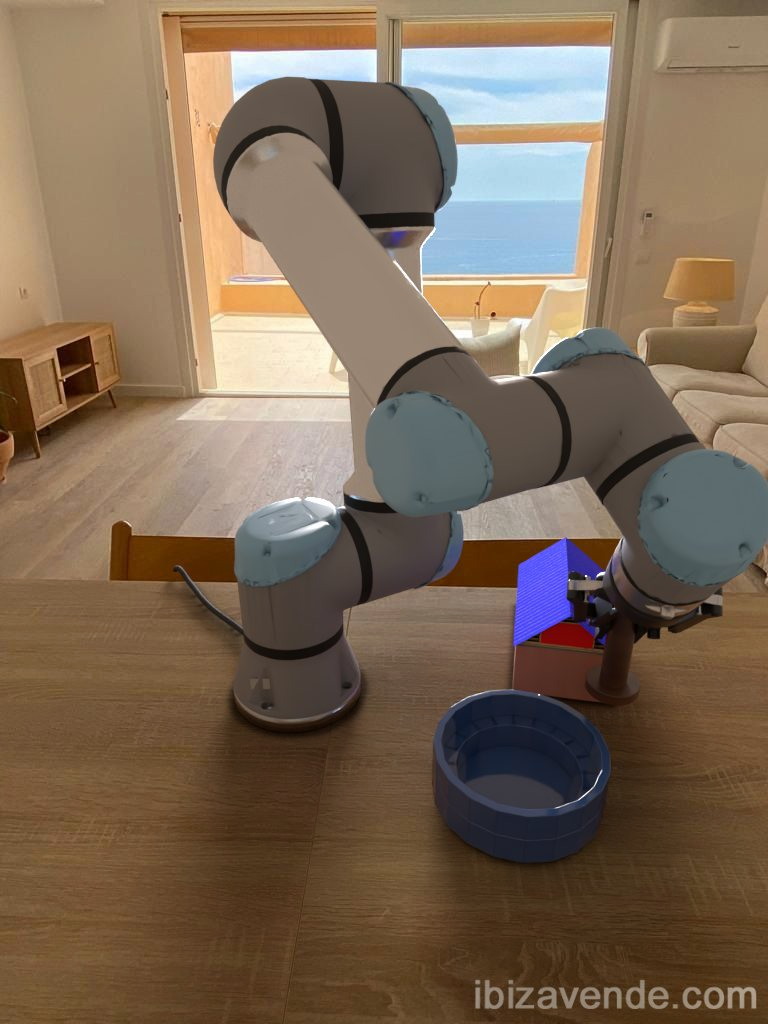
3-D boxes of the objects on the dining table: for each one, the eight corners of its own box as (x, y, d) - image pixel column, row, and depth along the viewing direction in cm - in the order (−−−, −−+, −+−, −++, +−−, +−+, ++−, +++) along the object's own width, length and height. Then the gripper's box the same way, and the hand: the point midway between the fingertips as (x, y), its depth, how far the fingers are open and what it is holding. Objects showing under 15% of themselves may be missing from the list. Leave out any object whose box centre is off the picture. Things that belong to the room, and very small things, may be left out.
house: (509, 692, 84) (516, 610, 79) (515, 604, 101) (521, 533, 97) (612, 705, 81) (626, 622, 77) (600, 613, 99) (611, 540, 94)
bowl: (406, 761, 74) (407, 713, 71) (540, 720, 79) (545, 674, 76) (482, 894, 60) (486, 841, 57) (638, 834, 65) (649, 783, 62)
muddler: (574, 679, 77) (591, 560, 70) (616, 667, 78) (635, 550, 72) (606, 711, 72) (627, 587, 65) (650, 698, 74) (674, 576, 67)
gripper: (553, 607, 55) (539, 653, 77) (771, 632, 52) (691, 673, 74) (560, 518, 57) (544, 588, 79) (768, 537, 54) (692, 604, 76)
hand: (615, 628), depth 76 cm, fingers closed on muddler, 3 cm apart
